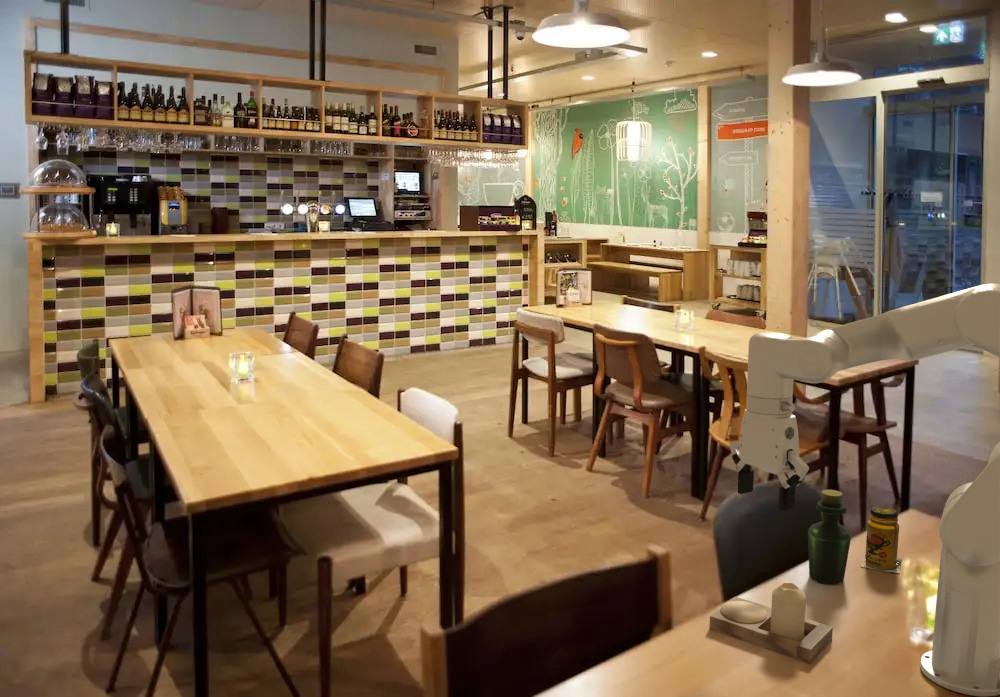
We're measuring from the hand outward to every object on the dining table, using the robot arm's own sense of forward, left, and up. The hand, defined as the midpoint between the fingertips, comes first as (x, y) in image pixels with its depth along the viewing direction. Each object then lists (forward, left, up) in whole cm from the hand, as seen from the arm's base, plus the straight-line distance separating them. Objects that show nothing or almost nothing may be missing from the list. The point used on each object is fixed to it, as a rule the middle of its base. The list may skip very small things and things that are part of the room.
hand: (765, 500), depth 151 cm
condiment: (-8, -42, -24) cm, 49 cm away
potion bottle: (-2, -27, -23) cm, 36 cm away
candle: (-6, +2, -23) cm, 24 cm away
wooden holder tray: (-3, +2, -23) cm, 23 cm away
